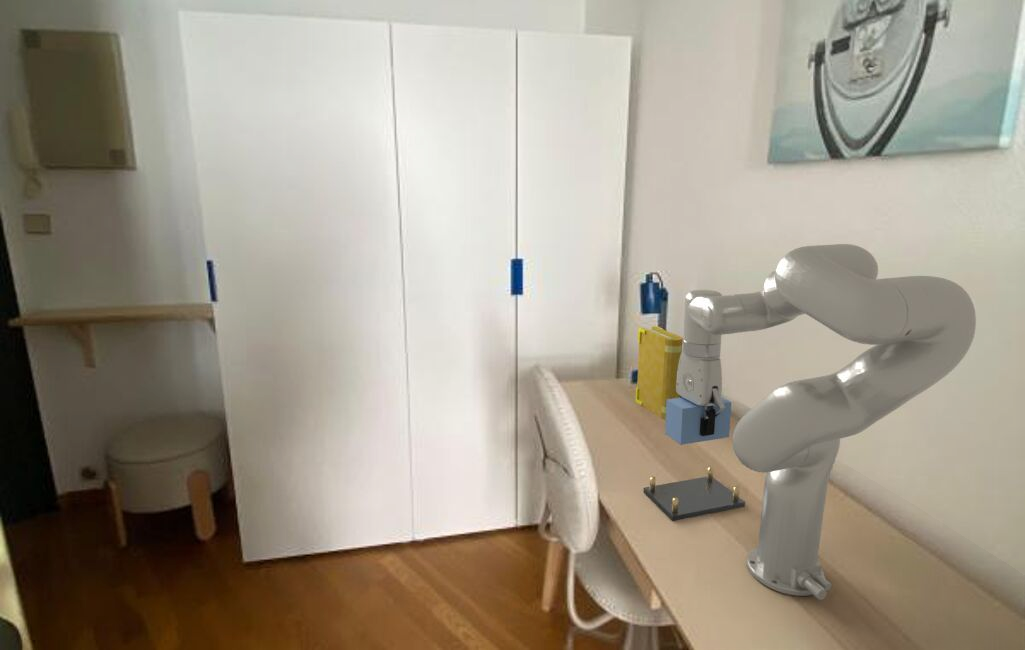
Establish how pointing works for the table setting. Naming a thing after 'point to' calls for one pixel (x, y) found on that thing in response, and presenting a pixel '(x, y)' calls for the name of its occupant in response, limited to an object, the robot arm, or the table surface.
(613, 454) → the table surface
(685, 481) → the dowel plate
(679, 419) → the blue block
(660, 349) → the book
